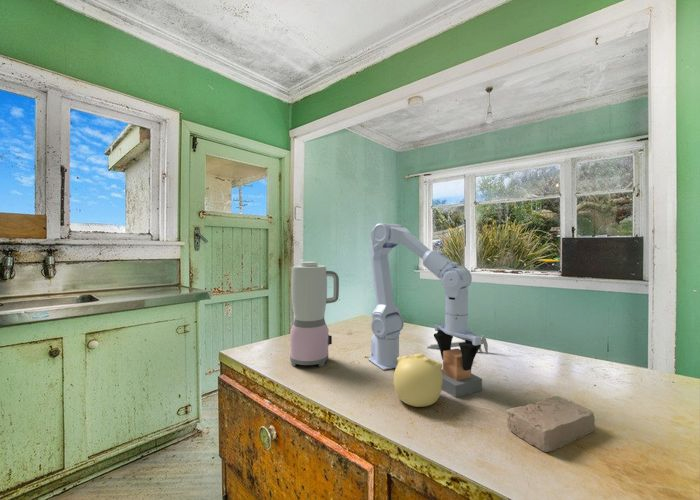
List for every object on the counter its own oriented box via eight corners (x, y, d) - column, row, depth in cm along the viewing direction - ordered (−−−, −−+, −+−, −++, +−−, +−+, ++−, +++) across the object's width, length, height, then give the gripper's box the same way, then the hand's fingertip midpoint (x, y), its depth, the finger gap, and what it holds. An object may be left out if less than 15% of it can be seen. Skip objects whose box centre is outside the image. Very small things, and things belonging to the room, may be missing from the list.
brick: (555, 412, 70) (555, 391, 70) (597, 432, 63) (597, 409, 63) (504, 431, 63) (504, 409, 63) (545, 457, 56) (546, 431, 56)
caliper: (487, 352, 108) (487, 335, 108) (487, 354, 107) (487, 335, 107) (426, 347, 113) (426, 330, 113) (426, 348, 112) (426, 331, 112)
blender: (287, 369, 93) (286, 263, 93) (292, 355, 106) (291, 261, 105) (339, 368, 94) (339, 263, 94) (338, 354, 107) (338, 260, 106)
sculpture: (445, 393, 79) (445, 351, 78) (438, 417, 68) (438, 368, 67) (400, 385, 83) (400, 345, 83) (387, 406, 72) (387, 360, 72)
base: (431, 382, 84) (431, 371, 84) (456, 376, 88) (456, 366, 88) (455, 397, 76) (455, 385, 76) (482, 390, 80) (482, 378, 80)
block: (442, 373, 84) (443, 351, 83) (457, 370, 86) (457, 348, 86) (456, 380, 79) (456, 357, 79) (471, 377, 81) (471, 354, 81)
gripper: (490, 317, 77) (489, 371, 77) (448, 306, 90) (448, 353, 90) (469, 320, 74) (468, 377, 74) (429, 309, 87) (428, 357, 87)
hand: (456, 364), depth 82 cm, fingers open, 7 cm apart
